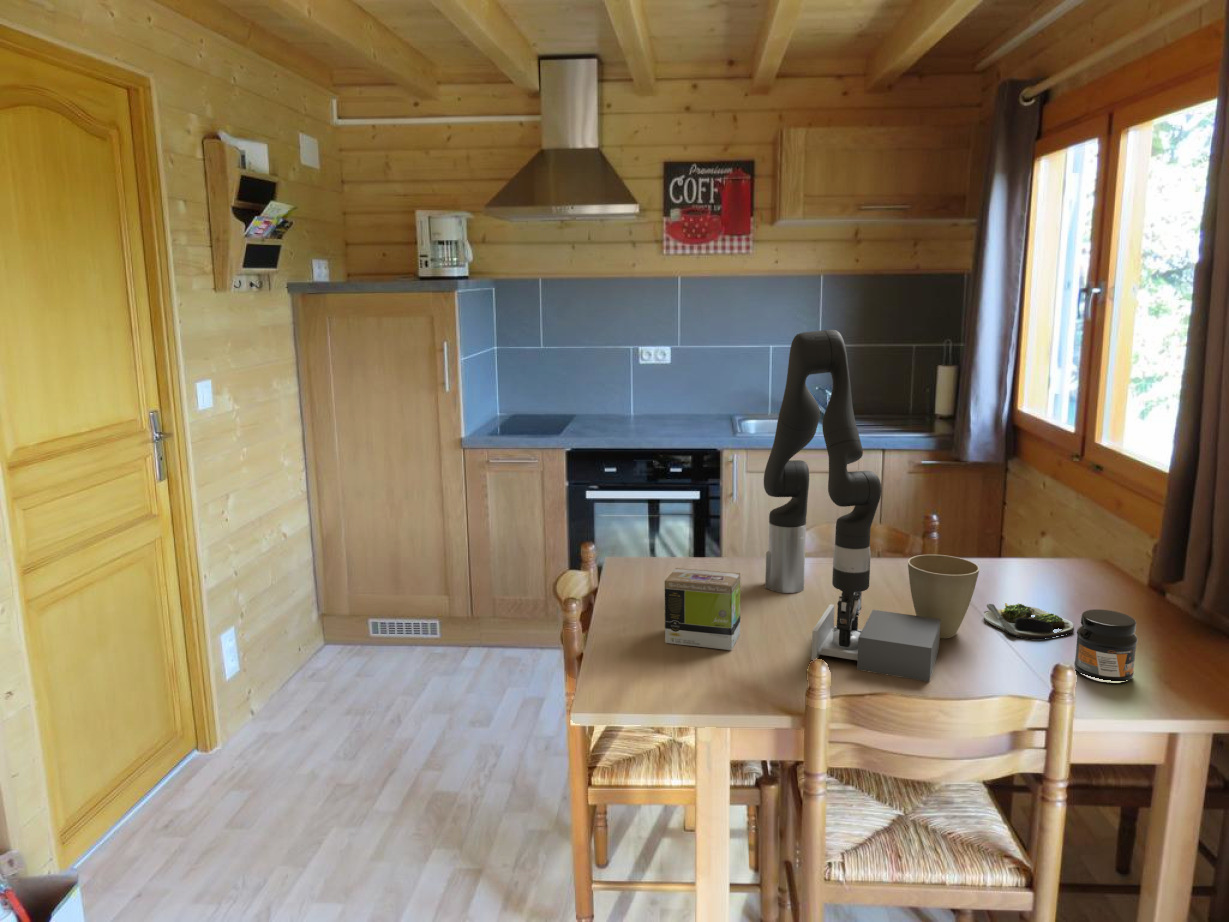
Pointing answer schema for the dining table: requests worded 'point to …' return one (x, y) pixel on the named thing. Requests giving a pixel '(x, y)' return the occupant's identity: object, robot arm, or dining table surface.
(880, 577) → the dining table surface
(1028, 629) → the salad plate
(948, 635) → the plant pot
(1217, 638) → the dining table surface
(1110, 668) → the supplement container
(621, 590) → the dining table surface
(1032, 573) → the dining table surface
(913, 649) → the block
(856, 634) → the disc
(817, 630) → the tray
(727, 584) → the tea box
